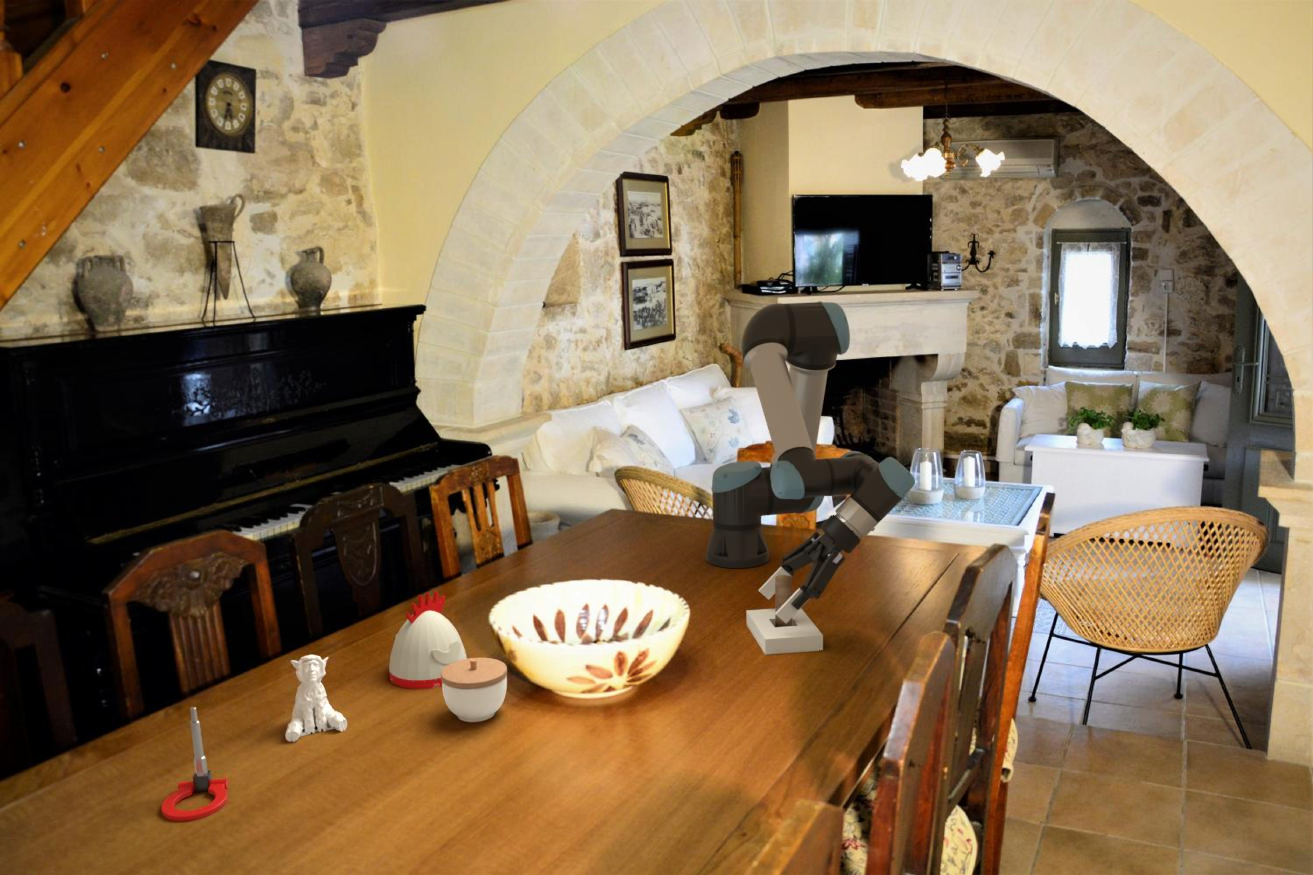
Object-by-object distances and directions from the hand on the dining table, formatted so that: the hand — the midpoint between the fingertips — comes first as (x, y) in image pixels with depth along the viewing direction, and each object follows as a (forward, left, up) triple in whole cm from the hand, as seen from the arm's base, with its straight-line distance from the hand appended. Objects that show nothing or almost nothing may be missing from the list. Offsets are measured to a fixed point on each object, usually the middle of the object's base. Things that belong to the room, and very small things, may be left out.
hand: (771, 606), depth 204 cm
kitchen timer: (+5, -65, -7) cm, 65 cm away
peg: (0, +2, -6) cm, 7 cm away
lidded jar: (+24, -56, -7) cm, 61 cm away
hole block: (0, +2, -6) cm, 7 cm away
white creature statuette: (+24, -82, -7) cm, 85 cm away
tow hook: (+46, -94, -7) cm, 105 cm away
